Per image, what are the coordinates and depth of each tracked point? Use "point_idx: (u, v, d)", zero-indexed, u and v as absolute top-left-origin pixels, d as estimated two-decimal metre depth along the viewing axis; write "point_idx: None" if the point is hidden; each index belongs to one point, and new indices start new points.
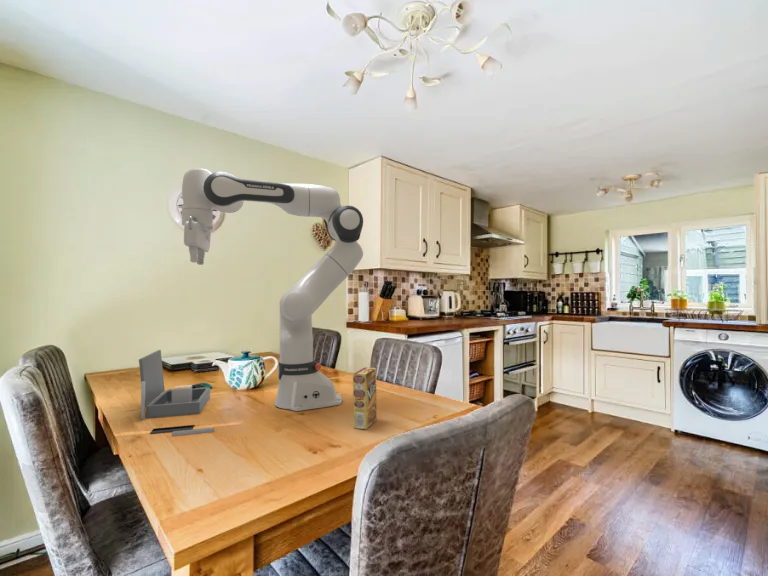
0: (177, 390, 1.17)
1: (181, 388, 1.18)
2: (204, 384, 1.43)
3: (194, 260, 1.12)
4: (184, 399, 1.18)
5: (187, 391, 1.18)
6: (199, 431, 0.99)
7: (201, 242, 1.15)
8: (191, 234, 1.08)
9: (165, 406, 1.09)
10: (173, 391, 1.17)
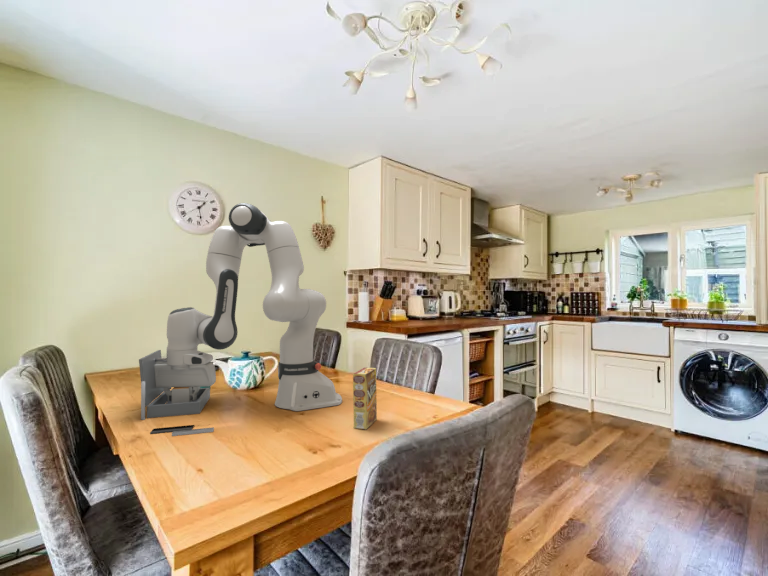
0: (177, 390, 1.17)
1: (181, 388, 1.18)
2: None
3: None
4: (184, 399, 1.18)
5: (187, 391, 1.18)
6: (199, 431, 0.99)
7: (168, 382, 1.18)
8: None
9: (165, 406, 1.09)
10: (173, 391, 1.17)
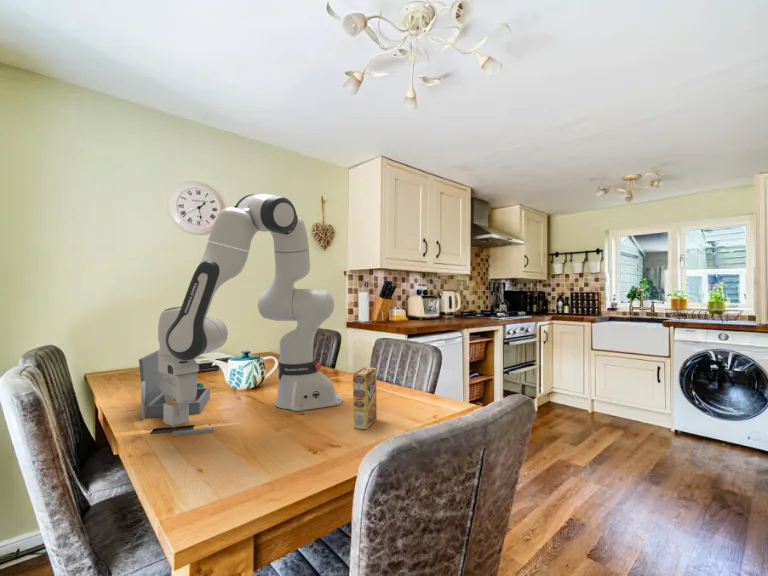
0: (166, 406, 1.03)
1: (170, 404, 1.03)
2: None
3: None
4: (170, 418, 1.02)
5: (171, 409, 1.02)
6: (199, 431, 0.99)
7: (165, 389, 1.06)
8: None
9: None
10: (164, 406, 1.04)
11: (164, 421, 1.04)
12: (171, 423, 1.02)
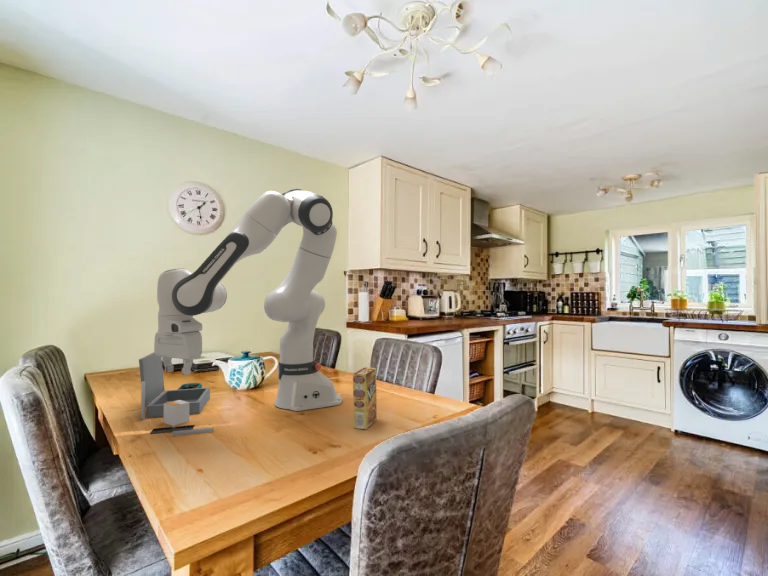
0: (166, 406, 1.03)
1: (170, 404, 1.03)
2: (189, 384, 1.43)
3: None
4: (170, 418, 1.02)
5: (172, 409, 1.02)
6: (199, 431, 0.99)
7: (164, 351, 1.07)
8: None
9: None
10: (164, 406, 1.04)
11: (164, 421, 1.04)
12: (172, 423, 1.02)
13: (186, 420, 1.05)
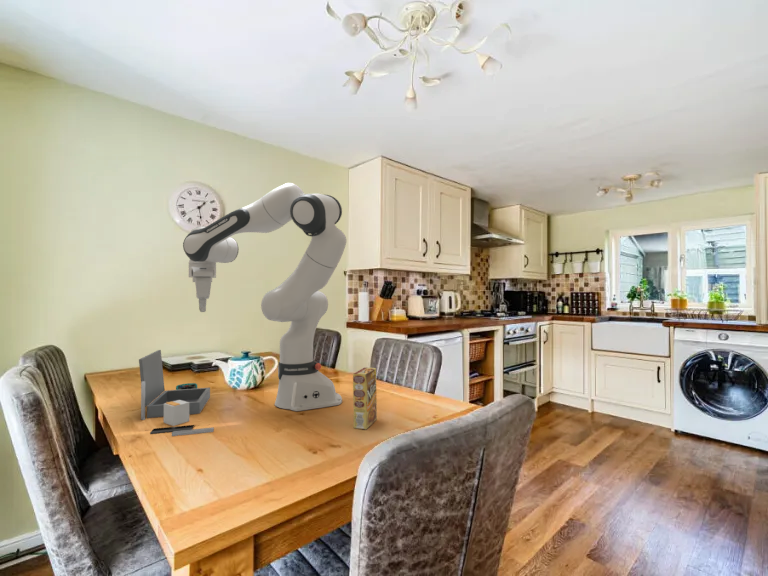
0: (166, 406, 1.03)
1: (170, 404, 1.03)
2: (185, 385, 1.42)
3: None
4: (170, 418, 1.02)
5: (172, 409, 1.02)
6: (199, 431, 0.99)
7: None
8: None
9: None
10: (164, 406, 1.04)
11: (164, 421, 1.04)
12: (172, 423, 1.02)
13: (186, 420, 1.05)
